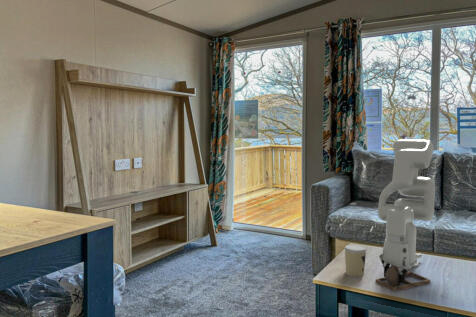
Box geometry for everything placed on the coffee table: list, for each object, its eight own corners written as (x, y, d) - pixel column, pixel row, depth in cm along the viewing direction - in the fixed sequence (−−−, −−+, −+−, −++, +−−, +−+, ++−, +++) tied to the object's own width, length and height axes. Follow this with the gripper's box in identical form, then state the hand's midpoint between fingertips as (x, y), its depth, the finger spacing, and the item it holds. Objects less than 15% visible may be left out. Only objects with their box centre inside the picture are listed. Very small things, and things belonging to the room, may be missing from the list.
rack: (405, 272, 175) (405, 269, 175) (430, 283, 164) (430, 279, 163) (370, 280, 166) (370, 276, 166) (394, 291, 155) (394, 288, 155)
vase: (401, 289, 157) (402, 268, 156) (383, 285, 161) (384, 265, 160) (404, 283, 163) (404, 263, 162) (387, 280, 166) (387, 260, 166)
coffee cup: (366, 278, 169) (367, 251, 168) (344, 276, 171) (345, 249, 170) (364, 270, 178) (364, 244, 177) (343, 268, 180) (343, 243, 179)
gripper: (419, 242, 154) (418, 285, 155) (386, 232, 170) (385, 271, 171) (405, 244, 151) (404, 289, 152) (373, 233, 166) (372, 274, 168)
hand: (394, 279), depth 162 cm, fingers closed on vase, 6 cm apart
